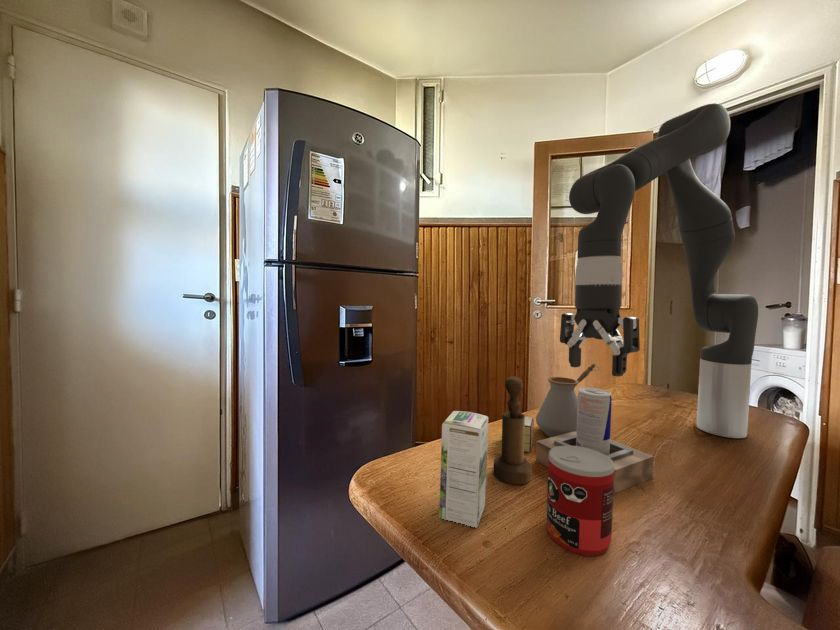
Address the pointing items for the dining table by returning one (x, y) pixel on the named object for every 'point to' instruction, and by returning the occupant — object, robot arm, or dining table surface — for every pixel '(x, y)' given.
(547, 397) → the coffee pot
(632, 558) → the dining table surface
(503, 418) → the mortar and pestle
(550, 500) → the canned food
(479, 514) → the syrup box
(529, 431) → the puzzle toy
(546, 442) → the block
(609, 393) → the beverage can
